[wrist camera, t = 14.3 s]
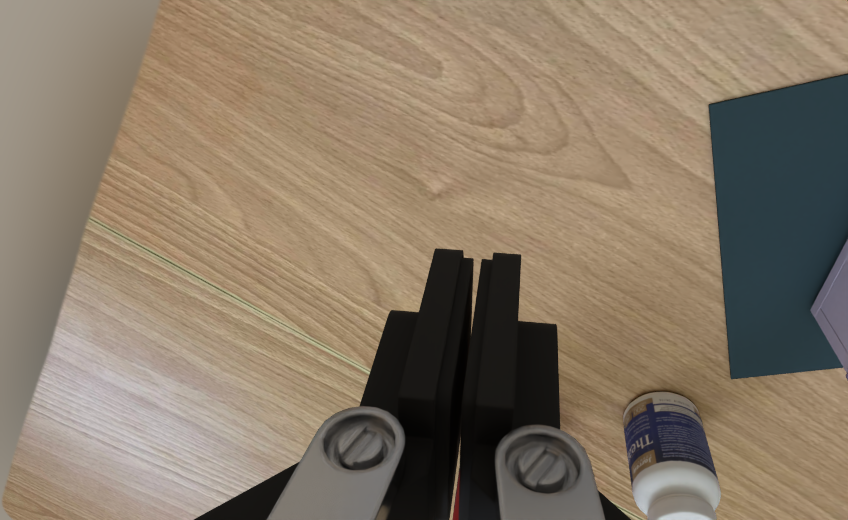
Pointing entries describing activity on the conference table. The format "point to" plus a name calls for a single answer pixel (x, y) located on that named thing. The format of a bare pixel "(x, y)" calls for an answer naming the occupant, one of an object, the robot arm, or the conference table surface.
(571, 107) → the conference table surface
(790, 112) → the mat
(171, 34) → the conference table surface
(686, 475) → the pill bottle
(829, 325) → the lavender lidded box
